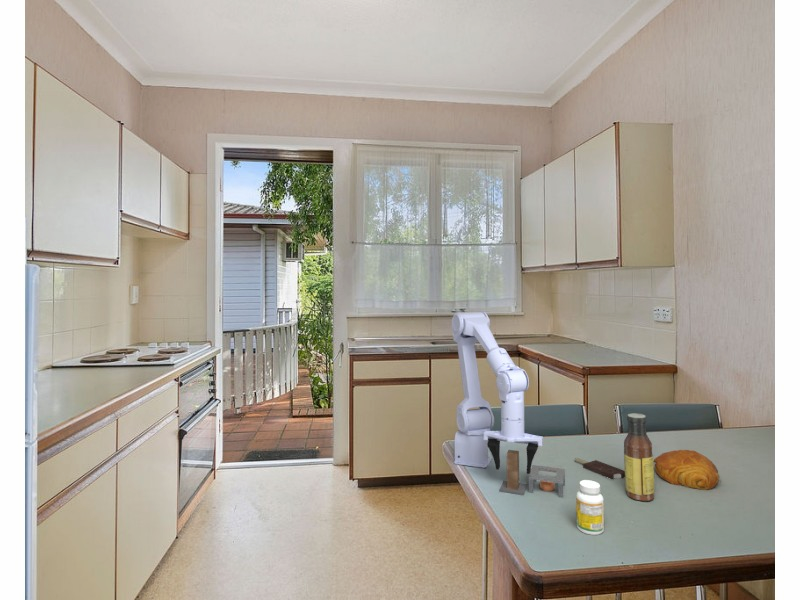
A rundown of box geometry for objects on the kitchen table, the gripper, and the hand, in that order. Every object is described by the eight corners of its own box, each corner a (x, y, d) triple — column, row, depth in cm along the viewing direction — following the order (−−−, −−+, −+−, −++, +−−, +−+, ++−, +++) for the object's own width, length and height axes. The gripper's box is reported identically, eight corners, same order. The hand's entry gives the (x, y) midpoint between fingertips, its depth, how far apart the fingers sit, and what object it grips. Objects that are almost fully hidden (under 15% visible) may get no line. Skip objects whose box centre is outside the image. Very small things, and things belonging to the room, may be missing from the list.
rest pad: (499, 491, 114) (499, 489, 114) (503, 481, 120) (503, 480, 120) (523, 495, 112) (523, 493, 112) (526, 485, 117) (526, 483, 117)
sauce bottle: (651, 492, 112) (651, 412, 112) (657, 504, 106) (656, 419, 106) (622, 489, 114) (622, 410, 114) (625, 500, 108) (625, 417, 108)
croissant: (712, 480, 124) (712, 450, 125) (724, 495, 110) (724, 461, 111) (651, 470, 130) (652, 441, 131) (655, 483, 116) (656, 451, 117)
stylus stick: (507, 488, 115) (506, 453, 115) (508, 484, 117) (508, 449, 117) (517, 490, 114) (517, 454, 114) (519, 485, 116) (518, 450, 116)
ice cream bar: (569, 463, 132) (615, 482, 119) (569, 457, 132) (615, 476, 119) (581, 459, 135) (628, 477, 122) (581, 454, 135) (628, 471, 122)
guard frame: (529, 492, 113) (528, 476, 113) (532, 479, 121) (532, 464, 121) (563, 497, 110) (562, 481, 110) (564, 484, 118) (564, 469, 118)
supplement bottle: (599, 538, 92) (599, 491, 92) (572, 530, 96) (572, 484, 95) (607, 527, 96) (606, 482, 96) (581, 519, 100) (581, 476, 99)
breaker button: (539, 489, 115) (539, 482, 114) (540, 484, 118) (540, 476, 118) (553, 492, 113) (553, 484, 113) (554, 486, 116) (554, 478, 116)
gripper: (480, 418, 114) (481, 472, 115) (540, 424, 109) (541, 480, 109) (486, 411, 121) (487, 462, 121) (543, 416, 115) (544, 469, 116)
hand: (513, 470), depth 116 cm, fingers open, 7 cm apart
